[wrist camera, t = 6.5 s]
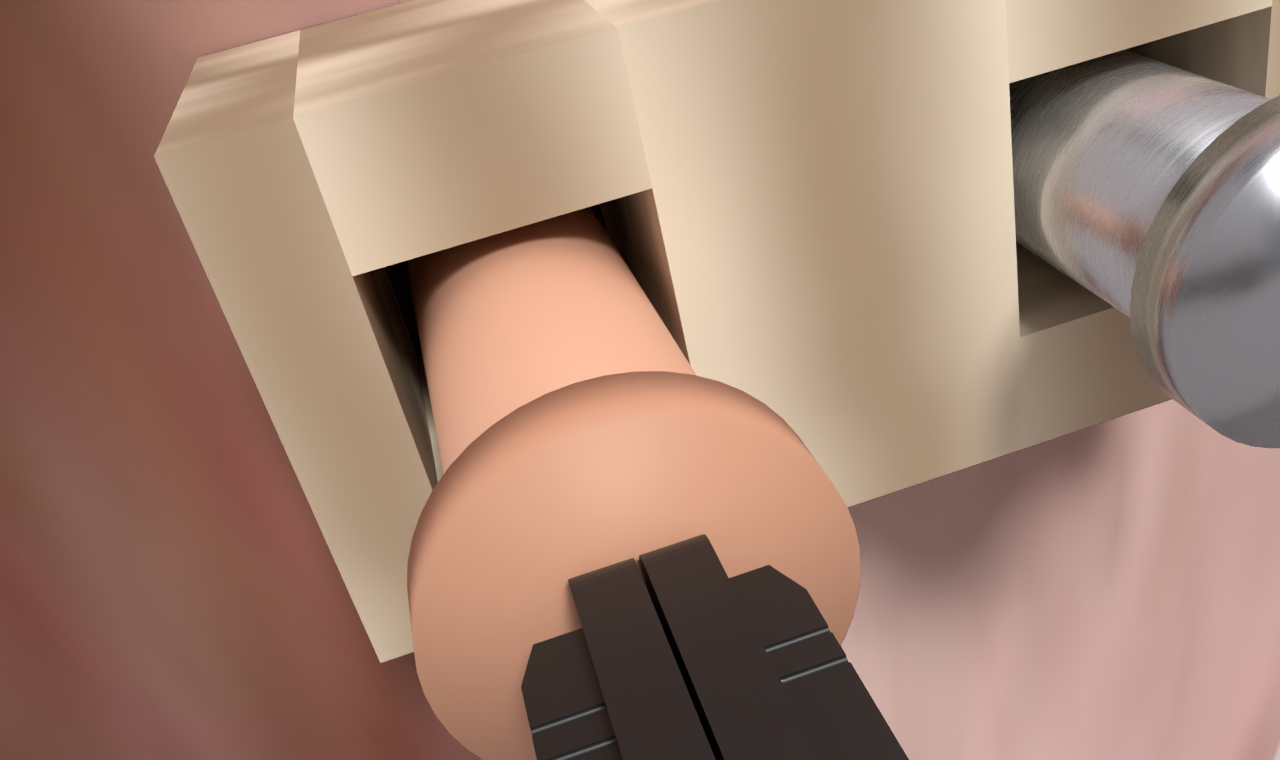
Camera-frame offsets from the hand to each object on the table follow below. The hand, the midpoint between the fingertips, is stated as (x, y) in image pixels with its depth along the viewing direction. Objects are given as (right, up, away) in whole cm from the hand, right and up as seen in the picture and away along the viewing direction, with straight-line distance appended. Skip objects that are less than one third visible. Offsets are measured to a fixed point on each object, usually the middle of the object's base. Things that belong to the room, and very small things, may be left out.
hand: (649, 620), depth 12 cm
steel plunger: (+6, +8, +11) cm, 15 cm away
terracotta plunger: (-2, +5, +9) cm, 10 cm away
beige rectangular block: (+2, +7, +11) cm, 13 cm away
